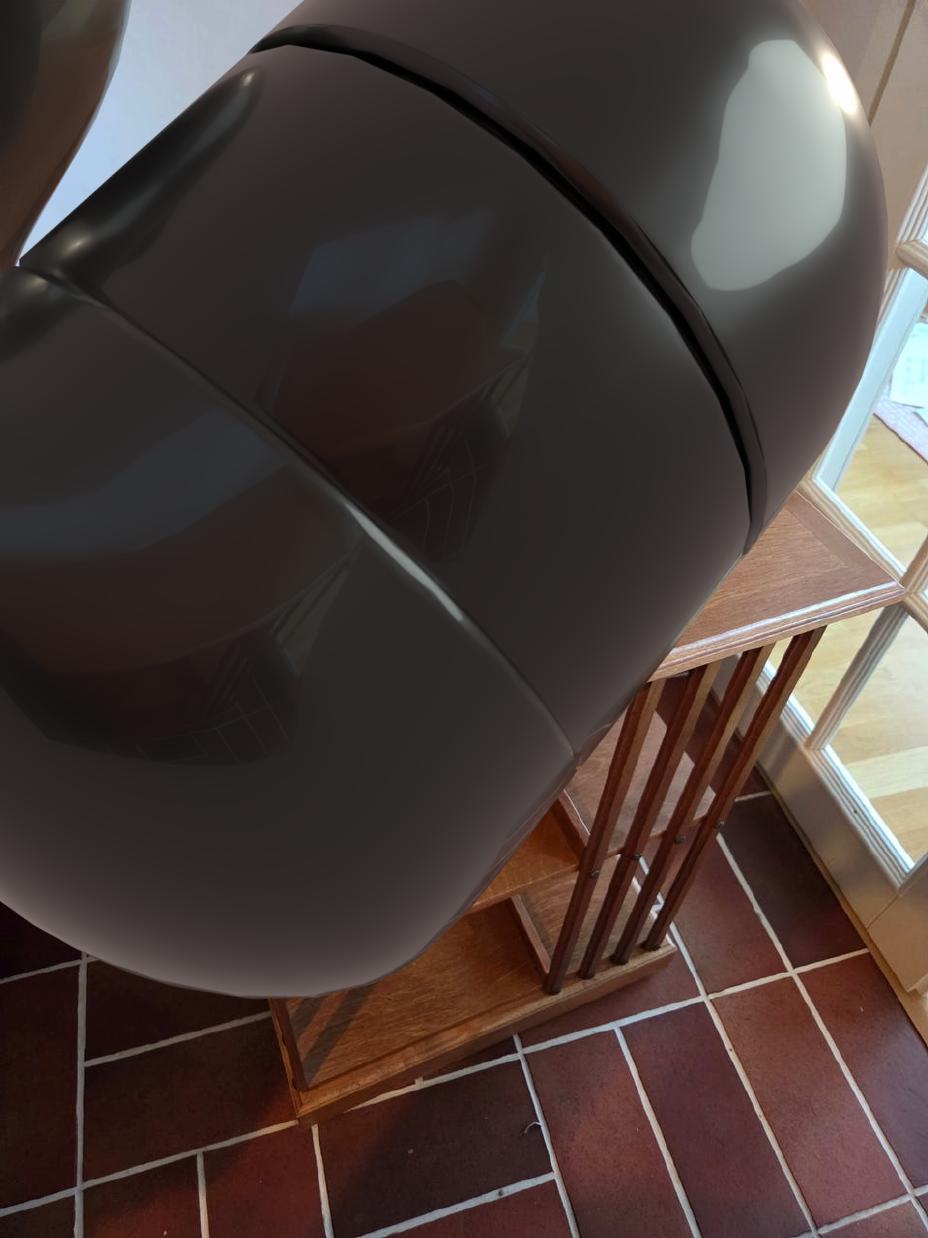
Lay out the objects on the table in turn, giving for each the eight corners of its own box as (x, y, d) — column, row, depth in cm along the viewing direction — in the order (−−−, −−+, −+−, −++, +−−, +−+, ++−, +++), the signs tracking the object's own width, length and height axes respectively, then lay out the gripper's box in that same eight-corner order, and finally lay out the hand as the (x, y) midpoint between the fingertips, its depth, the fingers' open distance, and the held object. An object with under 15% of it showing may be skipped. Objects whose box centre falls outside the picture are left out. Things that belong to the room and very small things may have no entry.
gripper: (477, 400, 26) (379, 479, 42) (-17, 470, 22) (77, 529, 38) (523, 631, 27) (409, 625, 42) (47, 741, 23) (114, 690, 38)
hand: (252, 580), depth 40 cm, fingers open, 8 cm apart
